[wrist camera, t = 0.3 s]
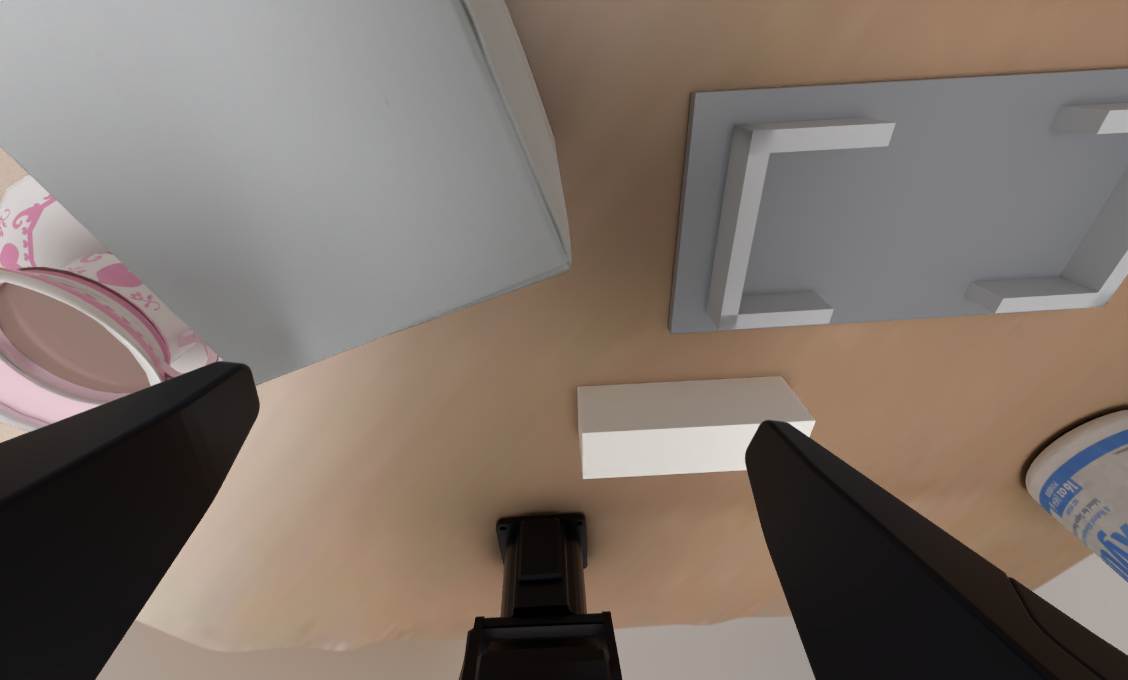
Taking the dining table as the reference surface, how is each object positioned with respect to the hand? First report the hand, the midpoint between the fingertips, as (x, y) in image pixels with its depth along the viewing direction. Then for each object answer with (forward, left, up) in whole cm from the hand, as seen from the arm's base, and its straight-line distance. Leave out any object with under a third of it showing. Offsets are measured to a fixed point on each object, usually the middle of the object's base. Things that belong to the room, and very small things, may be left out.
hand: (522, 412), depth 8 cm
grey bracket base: (-2, -18, -14) cm, 22 cm away
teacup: (-3, +18, -14) cm, 23 cm away
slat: (-13, -8, -14) cm, 20 cm away
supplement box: (+4, +3, -14) cm, 15 cm away
